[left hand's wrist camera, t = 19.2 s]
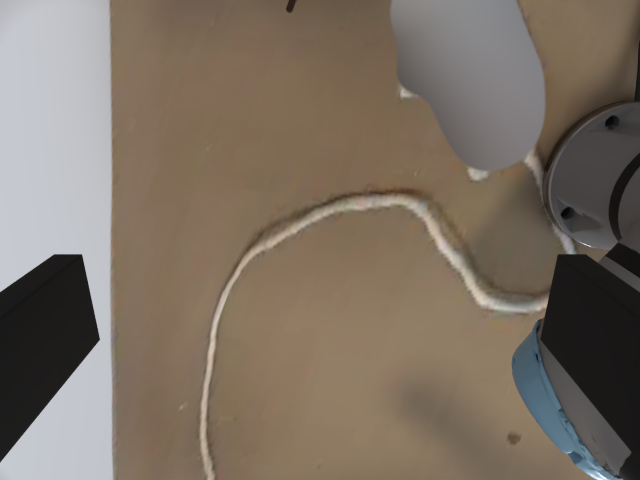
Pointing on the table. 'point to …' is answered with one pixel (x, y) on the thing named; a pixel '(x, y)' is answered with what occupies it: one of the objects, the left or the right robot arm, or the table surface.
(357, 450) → the table surface
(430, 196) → the table surface
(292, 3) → the music box
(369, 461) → the table surface
